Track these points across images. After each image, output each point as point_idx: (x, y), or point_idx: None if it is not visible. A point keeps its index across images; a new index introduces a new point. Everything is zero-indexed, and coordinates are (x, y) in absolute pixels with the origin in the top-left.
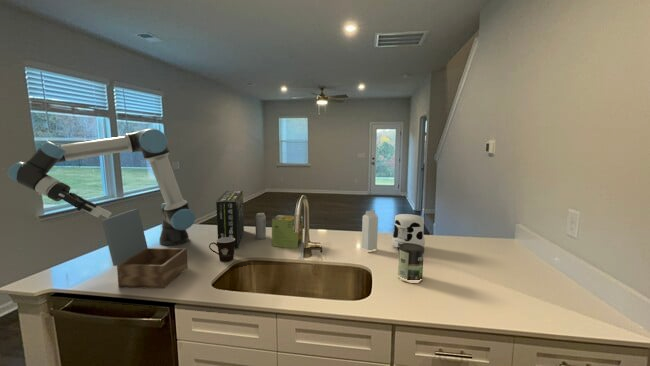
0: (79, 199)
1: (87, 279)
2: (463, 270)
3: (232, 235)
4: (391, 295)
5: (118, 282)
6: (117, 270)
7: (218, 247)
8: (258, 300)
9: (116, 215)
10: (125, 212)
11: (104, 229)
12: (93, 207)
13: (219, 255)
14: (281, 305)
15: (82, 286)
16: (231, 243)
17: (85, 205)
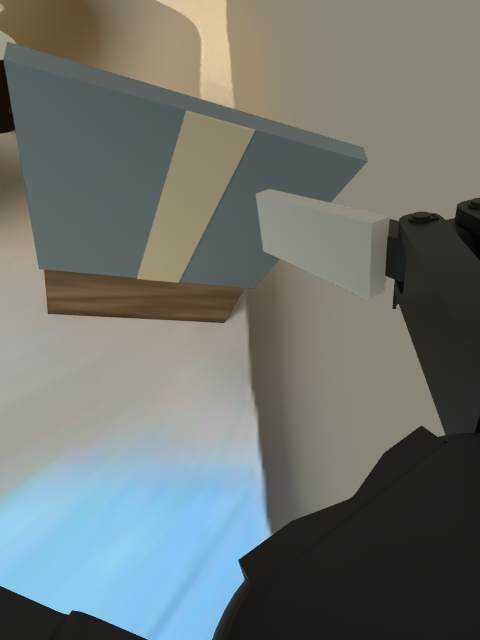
0: (253, 559)
1: (186, 471)
2: None
3: None
4: (178, 3)
5: (228, 313)
6: (242, 290)
7: (4, 82)
8: (220, 103)
9: (270, 125)
10: (179, 98)
11: (333, 196)
12: (319, 202)
13: (5, 112)
14: (228, 86)
15: (239, 436)
16: (6, 42)
17: (387, 229)
